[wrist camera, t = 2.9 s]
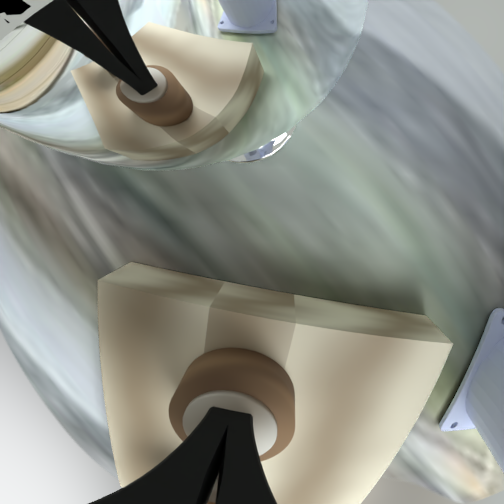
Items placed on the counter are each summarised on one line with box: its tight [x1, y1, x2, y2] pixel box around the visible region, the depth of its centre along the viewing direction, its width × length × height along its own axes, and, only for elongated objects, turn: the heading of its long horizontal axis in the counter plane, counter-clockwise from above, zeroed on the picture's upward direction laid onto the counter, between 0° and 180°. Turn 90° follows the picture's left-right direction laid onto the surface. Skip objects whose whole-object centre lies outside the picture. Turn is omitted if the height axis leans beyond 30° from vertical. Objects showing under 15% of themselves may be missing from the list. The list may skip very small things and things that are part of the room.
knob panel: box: [98, 262, 453, 504], centre depth 14 cm, size 14×14×3 cm
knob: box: [168, 348, 295, 461], centre depth 12 cm, size 4×4×5 cm
